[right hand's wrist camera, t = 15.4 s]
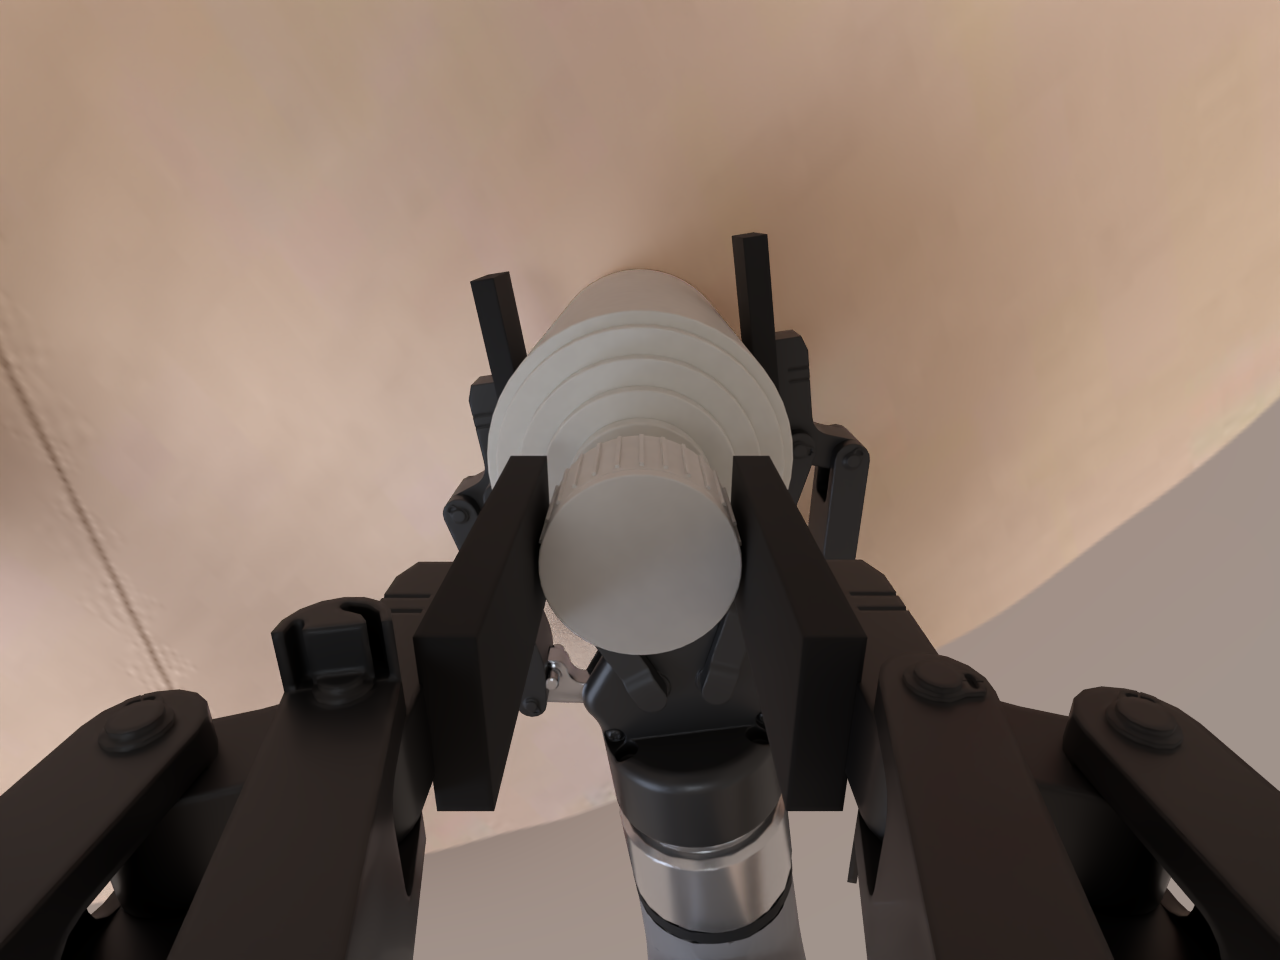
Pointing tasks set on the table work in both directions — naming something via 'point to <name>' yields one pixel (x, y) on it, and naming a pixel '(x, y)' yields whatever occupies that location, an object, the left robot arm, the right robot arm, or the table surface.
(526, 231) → the table surface
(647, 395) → the bottle
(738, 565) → the cap
